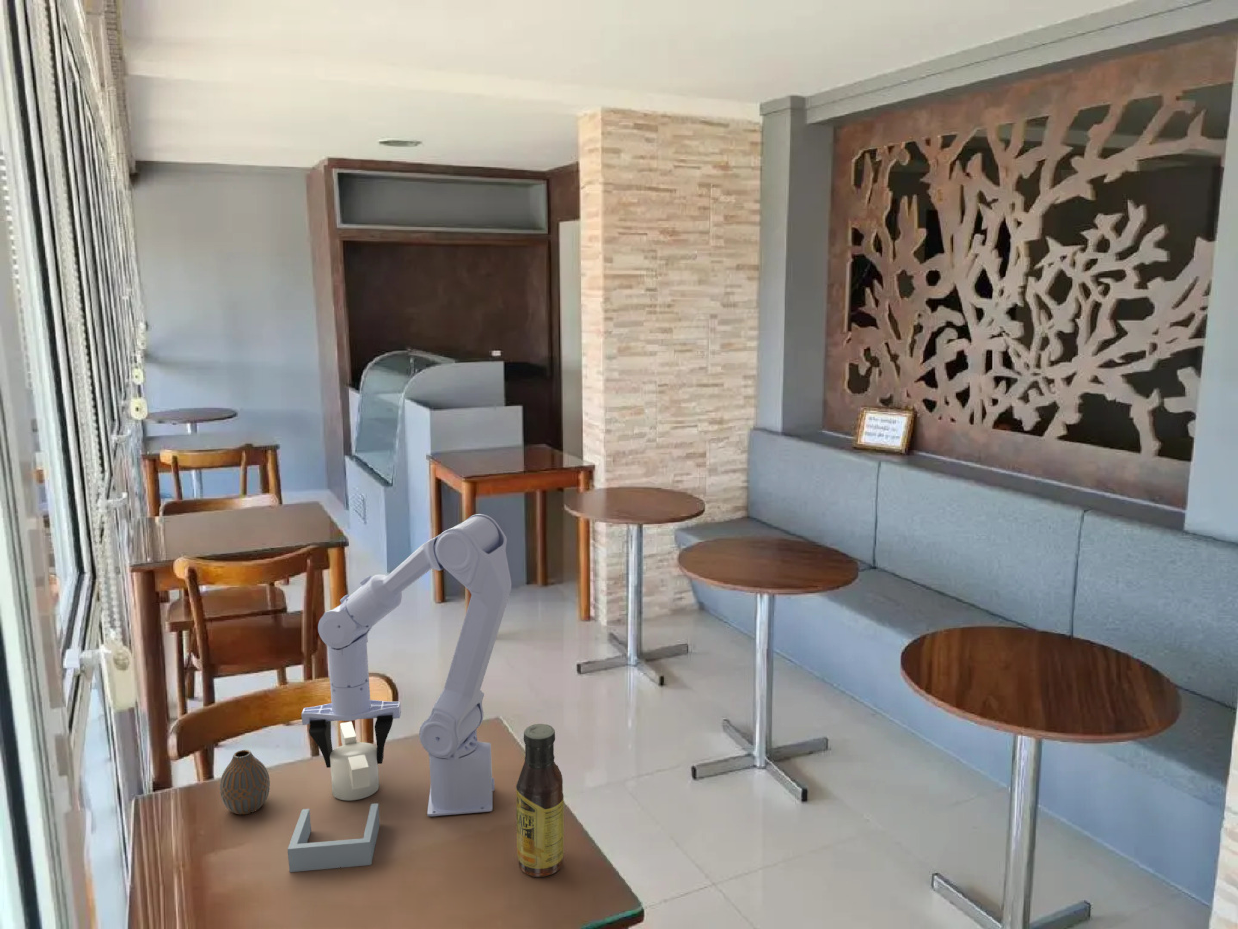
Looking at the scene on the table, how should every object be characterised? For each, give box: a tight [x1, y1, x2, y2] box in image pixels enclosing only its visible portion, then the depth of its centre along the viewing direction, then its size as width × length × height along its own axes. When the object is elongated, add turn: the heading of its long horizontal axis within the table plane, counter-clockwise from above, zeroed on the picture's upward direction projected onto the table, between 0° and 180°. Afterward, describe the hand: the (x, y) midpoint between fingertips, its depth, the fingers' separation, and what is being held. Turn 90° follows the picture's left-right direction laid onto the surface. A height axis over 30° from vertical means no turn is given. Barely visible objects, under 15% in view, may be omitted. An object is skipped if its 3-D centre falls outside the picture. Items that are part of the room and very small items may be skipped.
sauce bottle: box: [515, 723, 565, 878], centre depth 122 cm, size 6×6×20 cm
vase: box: [219, 749, 271, 815], centre depth 138 cm, size 7×7×9 cm
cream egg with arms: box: [330, 721, 380, 801], centre depth 143 cm, size 17×7×7 cm, turn 23°
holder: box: [287, 802, 380, 873], centre depth 128 cm, size 11×10×3 cm
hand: (355, 762), depth 143 cm, fingers open, 7 cm apart
